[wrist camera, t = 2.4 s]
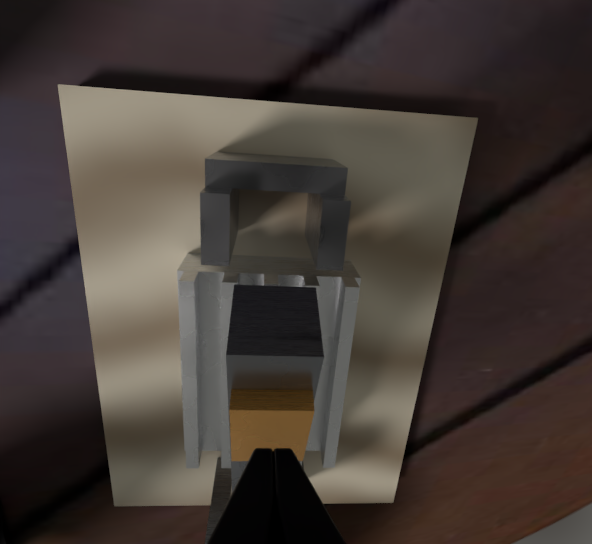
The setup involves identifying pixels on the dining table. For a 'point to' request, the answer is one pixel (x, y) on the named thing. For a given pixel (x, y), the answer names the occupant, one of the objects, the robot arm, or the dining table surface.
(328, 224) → the bracket
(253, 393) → the strap
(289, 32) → the dining table surface
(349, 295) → the finned block
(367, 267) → the base board
